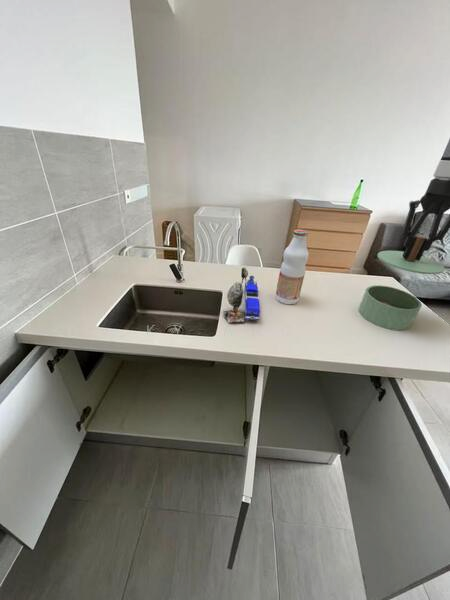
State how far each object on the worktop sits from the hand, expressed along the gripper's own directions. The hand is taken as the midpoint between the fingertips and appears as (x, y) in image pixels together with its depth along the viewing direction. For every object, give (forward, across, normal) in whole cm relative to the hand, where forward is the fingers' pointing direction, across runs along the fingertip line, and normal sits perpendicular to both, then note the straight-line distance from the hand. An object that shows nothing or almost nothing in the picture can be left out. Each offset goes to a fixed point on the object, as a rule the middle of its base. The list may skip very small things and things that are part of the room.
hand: (410, 258), depth 80 cm
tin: (+24, 0, +1) cm, 24 cm away
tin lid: (+1, 0, 0) cm, 1 cm away
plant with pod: (+24, -50, -28) cm, 62 cm away
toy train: (+21, -48, -16) cm, 55 cm away
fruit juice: (+24, -36, -6) cm, 43 cm away
